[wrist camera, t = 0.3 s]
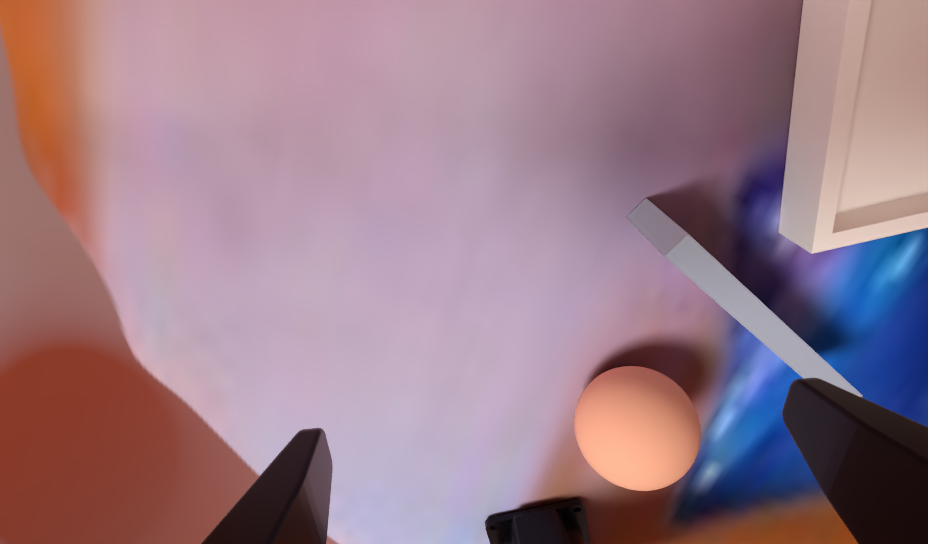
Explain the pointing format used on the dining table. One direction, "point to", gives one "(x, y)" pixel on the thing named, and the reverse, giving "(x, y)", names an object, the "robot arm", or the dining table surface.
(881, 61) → the tray
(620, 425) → the ball
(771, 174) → the dining table surface
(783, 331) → the rail
